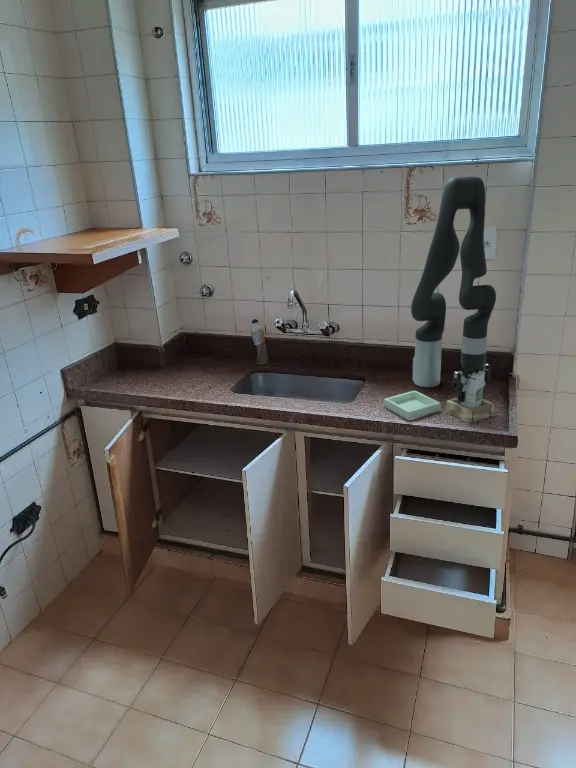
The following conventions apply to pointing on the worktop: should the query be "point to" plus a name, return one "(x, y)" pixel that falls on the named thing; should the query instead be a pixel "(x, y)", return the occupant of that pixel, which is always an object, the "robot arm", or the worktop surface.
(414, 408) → the tray
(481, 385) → the syrup box
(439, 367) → the robot arm
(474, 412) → the collar
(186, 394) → the worktop surface
